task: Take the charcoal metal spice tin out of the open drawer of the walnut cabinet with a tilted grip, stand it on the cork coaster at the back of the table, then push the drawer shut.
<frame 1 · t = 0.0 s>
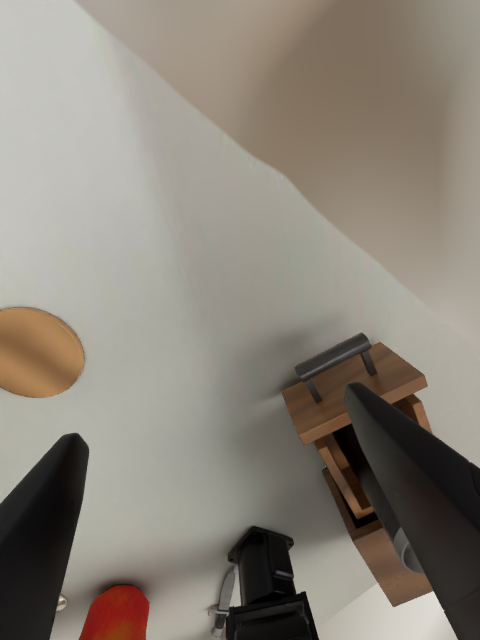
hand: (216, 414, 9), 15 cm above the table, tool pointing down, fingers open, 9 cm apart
cabinet: (384, 484, 34), on the table
drawer: (359, 418, 25), point 4 cm above the table, slide at 12.0 cm, touching spice tin
spice tin: (358, 424, 28), point 2 cm above the table, touching drawer
coaster: (32, 353, 24), on the table
knife: (219, 599, 40), on the table, touching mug
apple: (124, 590, 37), on the table
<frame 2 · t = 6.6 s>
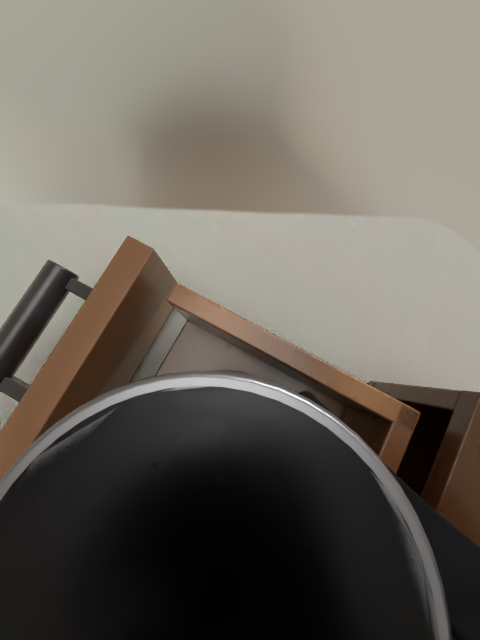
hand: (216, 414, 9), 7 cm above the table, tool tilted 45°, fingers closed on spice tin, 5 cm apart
cabinet: (440, 538, 15), on the table
drawer: (172, 405, 12), point 4 cm above the table, slide at 12.0 cm, touching spice tin
spice tin: (227, 426, 14), point 2 cm above the table, touching drawer, gripper
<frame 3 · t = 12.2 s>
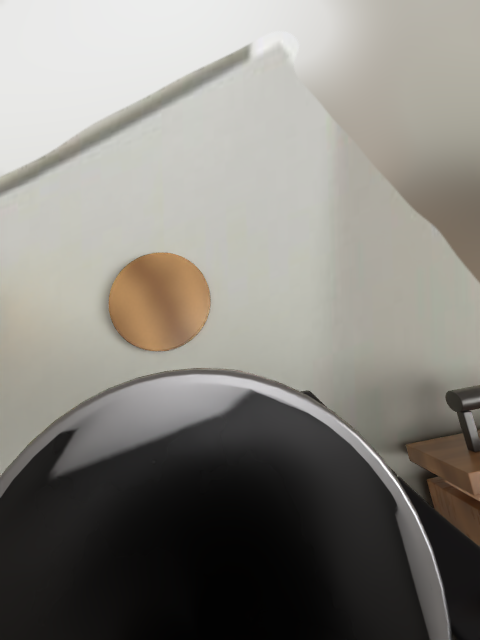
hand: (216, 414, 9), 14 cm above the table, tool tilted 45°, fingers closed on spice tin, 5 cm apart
spice tin: (227, 426, 14), point 9 cm above the table, touching gripper
coaster: (161, 301, 24), on the table
when the fingers open (5 cm above the table, at t = 17.9 s): spice tin stays where it is, resting on coaster.
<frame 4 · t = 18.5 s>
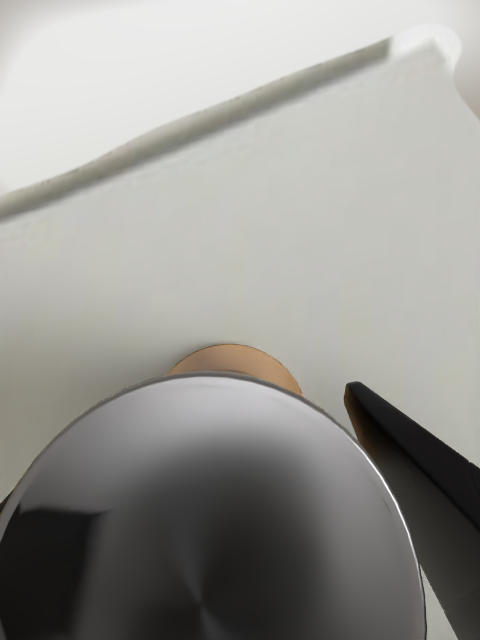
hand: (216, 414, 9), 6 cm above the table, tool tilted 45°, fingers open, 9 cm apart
spice tin: (228, 424, 14), point 1 cm above the table, touching coaster
coaster: (229, 422, 15), on the table
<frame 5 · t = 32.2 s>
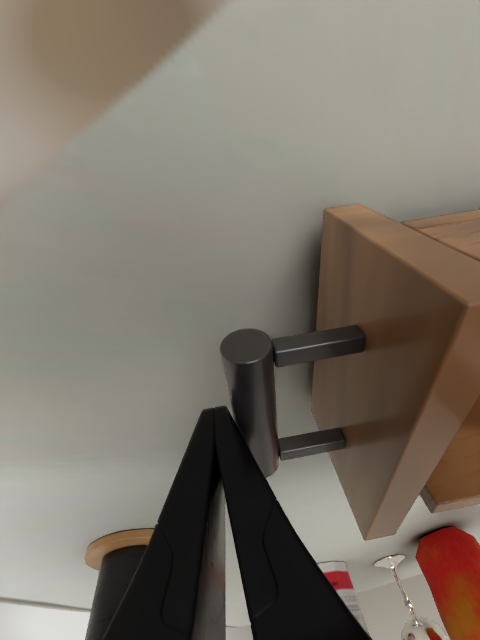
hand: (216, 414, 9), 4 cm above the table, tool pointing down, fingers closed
drawer: (464, 365, 10), point 4 cm above the table, slide at 11.6 cm, touching gripper
wineglass: (388, 558, 40), on the table
spray bottle: (318, 569, 38), on the table
spice tin: (136, 556, 24), point 1 cm above the table, touching coaster
coaster: (137, 548, 25), on the table
apple: (435, 531, 35), on the table
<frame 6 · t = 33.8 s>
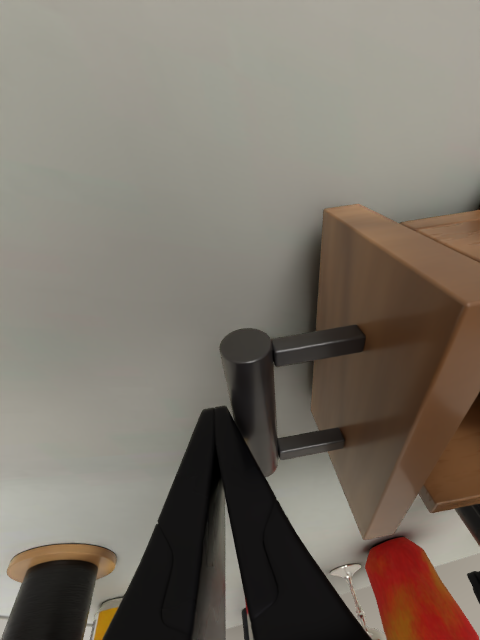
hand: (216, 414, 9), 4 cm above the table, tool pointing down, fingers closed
black water bottle: (260, 605, 47), on the table
drawer: (463, 365, 10), point 4 cm above the table, slide at 5.2 cm, touching gripper
wineglass: (344, 567, 39), on the table
spice tin: (63, 570, 24), point 1 cm above the table, touching coaster
coaster: (66, 561, 25), on the table
beer can: (123, 600, 35), on the table
apple: (386, 541, 35), on the table
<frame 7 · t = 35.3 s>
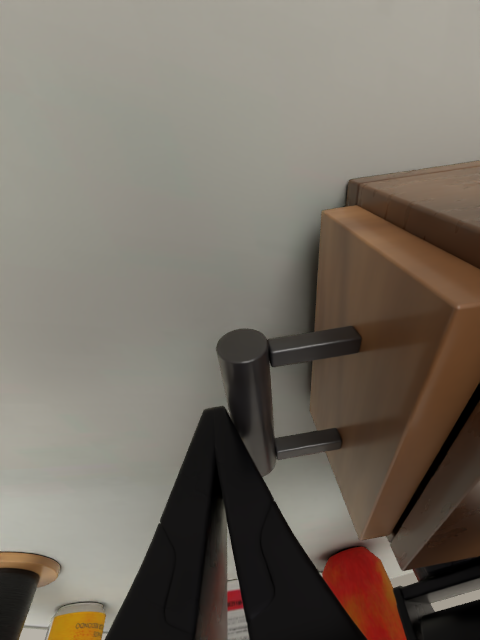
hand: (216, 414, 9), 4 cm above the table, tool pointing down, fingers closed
cabinet: (475, 295, 13), on the table
drawer: (461, 367, 10), point 4 cm above the table, slide at 0.0 cm, touching cabinet, gripper
spray bottle: (233, 585, 38), on the table
spice tin: (3, 578, 24), point 1 cm above the table, touching coaster
coaster: (7, 569, 25), on the table
beer can: (81, 605, 35), on the table
apple: (345, 550, 35), on the table
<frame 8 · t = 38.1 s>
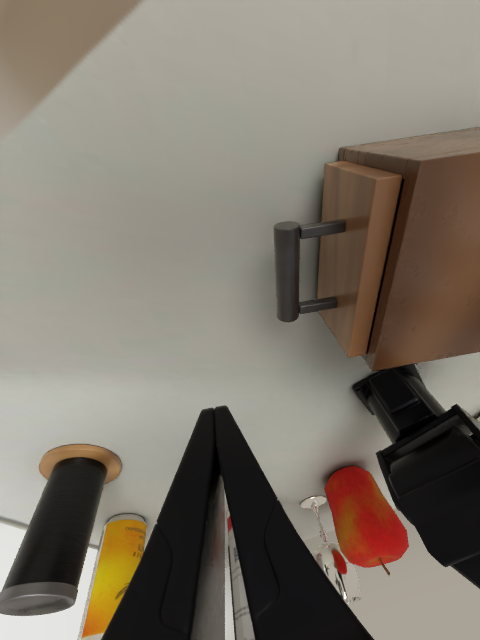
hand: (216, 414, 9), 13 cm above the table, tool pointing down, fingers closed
cabinet: (421, 226, 20), on the table
drawer: (404, 253, 17), point 4 cm above the table, slide at 0.0 cm
wineglass: (312, 500, 47), on the table
spray bottle: (250, 507, 45), on the table
spice tin: (80, 470, 32), point 1 cm above the table, touching coaster
coaster: (82, 464, 32), on the table
beer can: (126, 519, 42), on the table
apple: (343, 471, 42), on the table
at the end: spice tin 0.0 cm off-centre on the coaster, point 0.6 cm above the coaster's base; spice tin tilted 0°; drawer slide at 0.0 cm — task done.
